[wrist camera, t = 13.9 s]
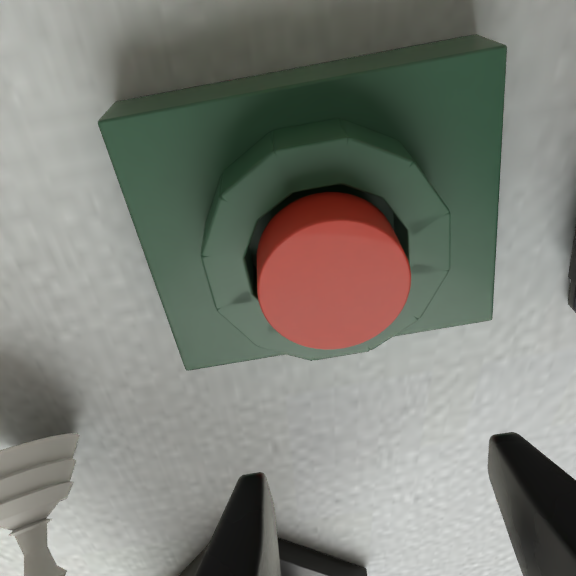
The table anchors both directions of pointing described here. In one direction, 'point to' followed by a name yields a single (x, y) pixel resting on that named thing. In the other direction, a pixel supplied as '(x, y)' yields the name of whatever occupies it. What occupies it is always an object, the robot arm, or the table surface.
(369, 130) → the button box
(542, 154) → the table surface
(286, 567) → the bracket
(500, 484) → the robot arm
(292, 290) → the button
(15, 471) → the chalice
